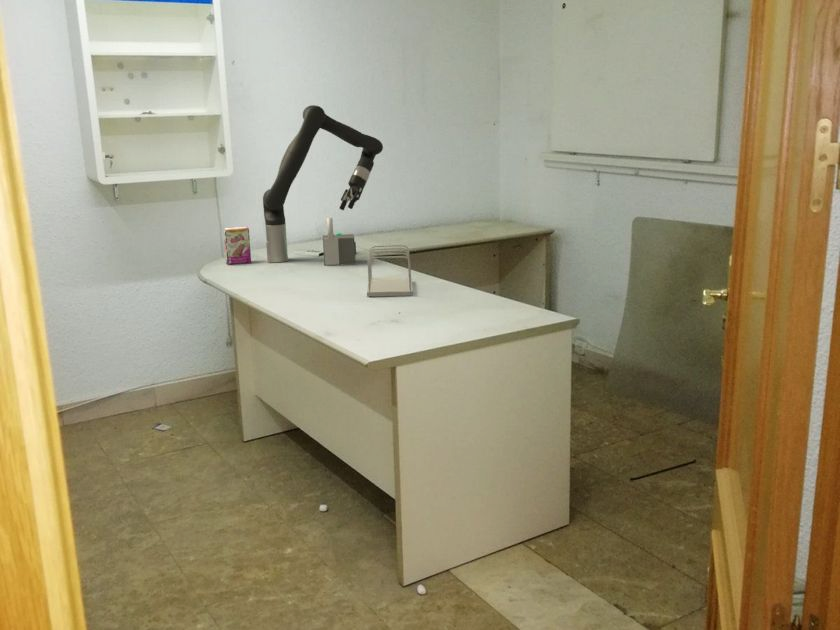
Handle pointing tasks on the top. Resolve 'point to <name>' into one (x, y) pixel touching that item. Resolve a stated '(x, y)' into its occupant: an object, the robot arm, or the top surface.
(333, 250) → the grey spatula
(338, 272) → the top surface
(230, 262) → the candy bar box
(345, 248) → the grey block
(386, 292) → the file sorter
